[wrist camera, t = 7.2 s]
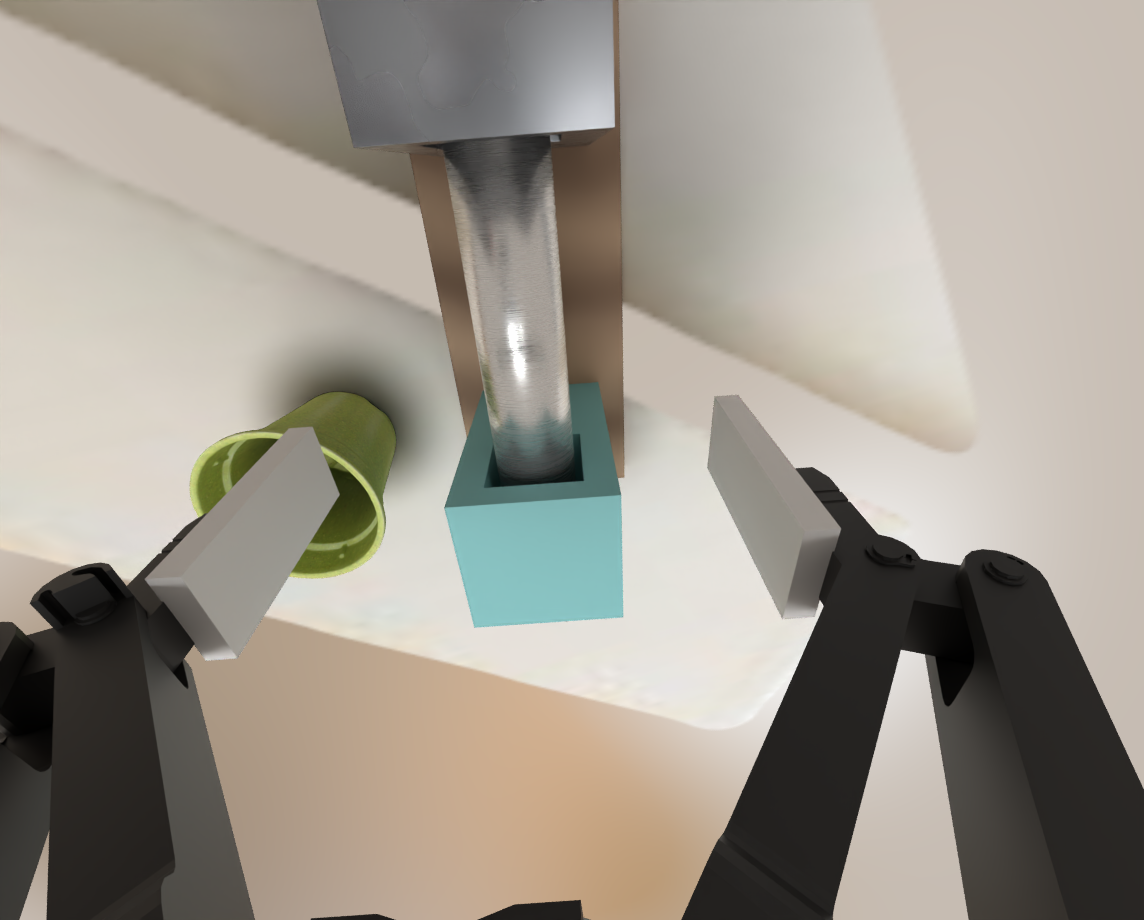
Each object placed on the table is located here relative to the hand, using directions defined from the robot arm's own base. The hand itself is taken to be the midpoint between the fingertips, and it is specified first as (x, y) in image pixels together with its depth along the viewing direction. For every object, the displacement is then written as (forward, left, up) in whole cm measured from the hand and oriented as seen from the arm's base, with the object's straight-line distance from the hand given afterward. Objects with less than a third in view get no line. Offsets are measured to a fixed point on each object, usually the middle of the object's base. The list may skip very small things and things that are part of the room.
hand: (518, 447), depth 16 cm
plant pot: (+6, -13, -15) cm, 21 cm away
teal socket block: (+7, 0, -13) cm, 15 cm away
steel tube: (-2, 0, -6) cm, 7 cm away
